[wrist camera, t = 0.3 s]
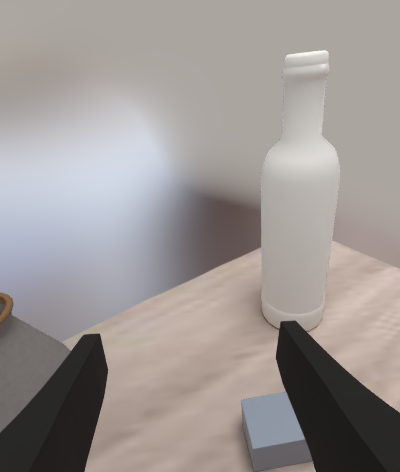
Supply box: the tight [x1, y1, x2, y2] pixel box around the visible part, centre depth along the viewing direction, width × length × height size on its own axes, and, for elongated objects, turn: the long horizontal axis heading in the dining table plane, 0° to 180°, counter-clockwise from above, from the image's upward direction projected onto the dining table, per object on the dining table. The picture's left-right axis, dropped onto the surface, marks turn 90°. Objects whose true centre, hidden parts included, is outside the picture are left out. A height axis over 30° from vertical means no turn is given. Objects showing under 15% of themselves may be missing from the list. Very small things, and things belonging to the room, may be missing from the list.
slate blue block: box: [241, 392, 313, 472], centre depth 26 cm, size 4×6×4 cm, turn 97°
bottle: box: [261, 50, 340, 331], centre depth 33 cm, size 8×8×30 cm
